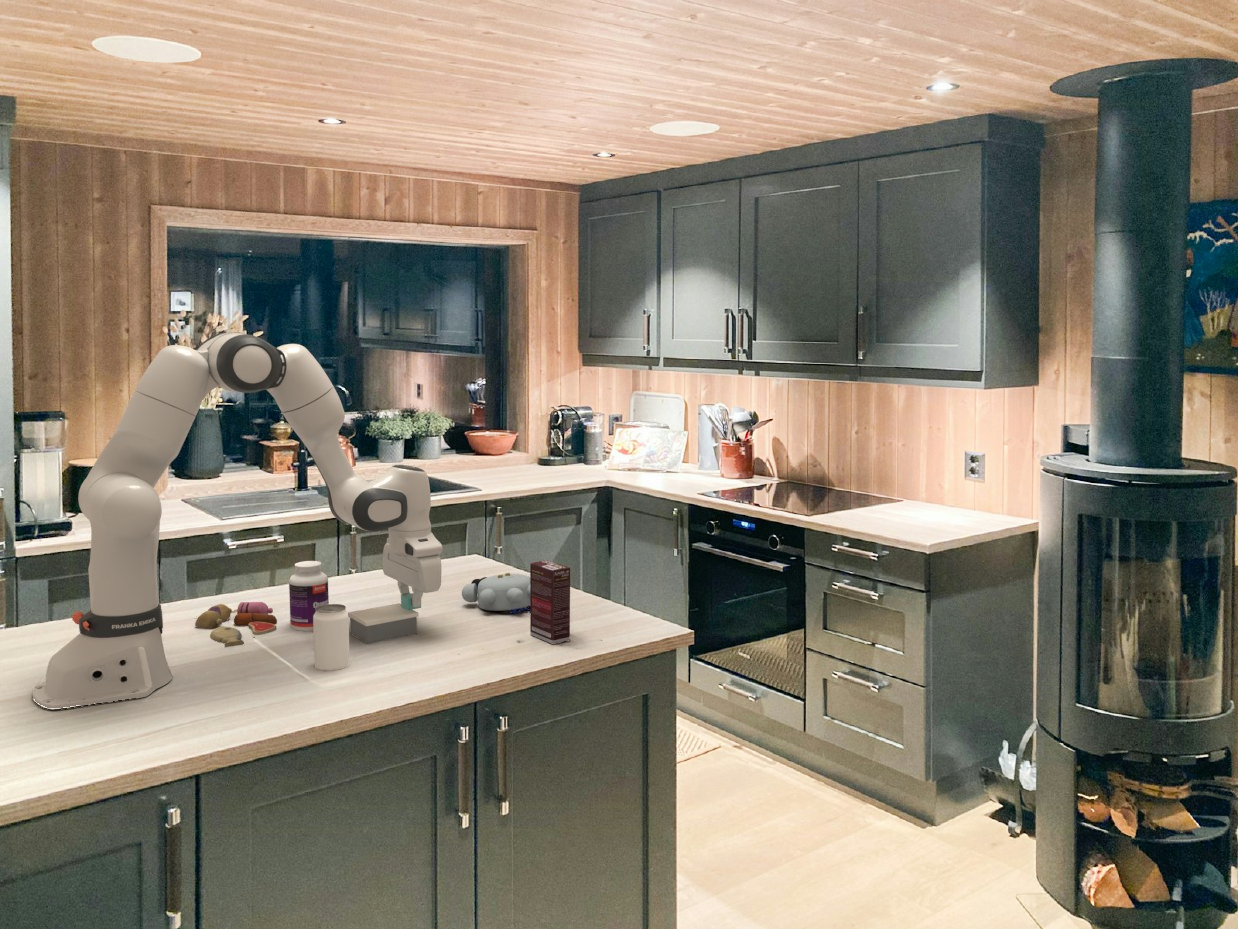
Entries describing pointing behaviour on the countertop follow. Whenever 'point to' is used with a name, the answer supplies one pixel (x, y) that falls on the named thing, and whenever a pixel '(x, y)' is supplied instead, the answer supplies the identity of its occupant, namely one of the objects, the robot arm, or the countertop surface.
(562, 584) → the supplement box
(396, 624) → the tub
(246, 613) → the toy food set
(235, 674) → the countertop surface
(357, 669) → the countertop surface
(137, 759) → the countertop surface
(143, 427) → the robot arm
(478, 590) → the figurine
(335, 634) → the can
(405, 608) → the lid
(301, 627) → the pill bottle
